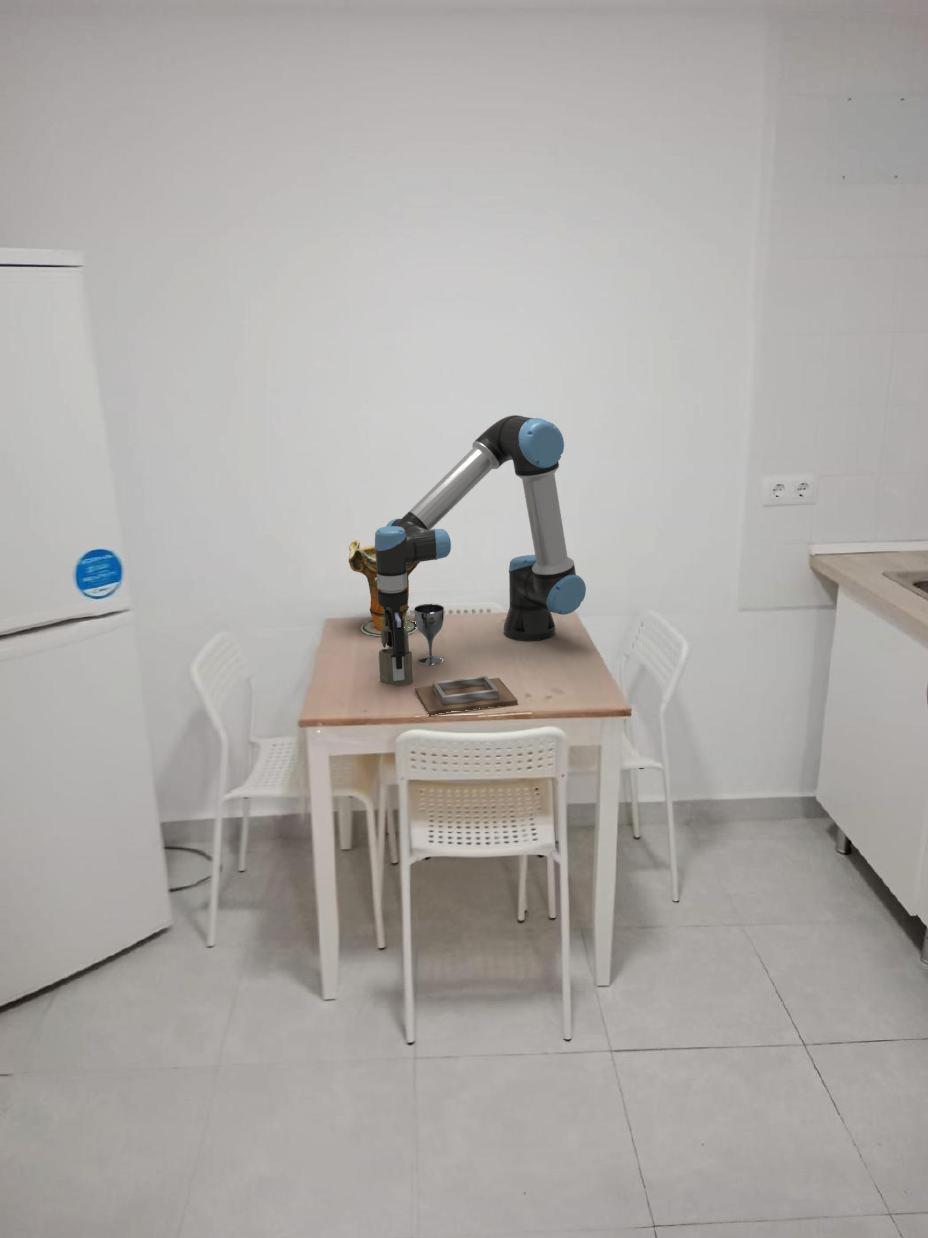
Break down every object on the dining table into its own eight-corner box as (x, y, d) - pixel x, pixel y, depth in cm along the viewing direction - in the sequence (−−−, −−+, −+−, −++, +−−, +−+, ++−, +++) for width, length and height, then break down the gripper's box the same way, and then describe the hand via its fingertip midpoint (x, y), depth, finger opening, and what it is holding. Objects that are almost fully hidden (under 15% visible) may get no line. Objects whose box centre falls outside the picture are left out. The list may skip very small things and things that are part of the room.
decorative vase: (339, 622, 288) (339, 532, 280) (410, 615, 297) (411, 528, 289) (360, 643, 270) (360, 548, 262) (435, 635, 279) (437, 542, 271)
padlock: (385, 677, 246) (382, 622, 241) (414, 680, 243) (411, 625, 239) (379, 682, 242) (376, 627, 238) (408, 686, 240) (405, 630, 235)
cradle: (498, 682, 241) (498, 670, 240) (517, 704, 228) (517, 692, 227) (415, 692, 236) (414, 680, 235) (429, 716, 222) (428, 703, 221)
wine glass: (441, 666, 252) (440, 613, 248) (413, 665, 254) (411, 612, 249) (448, 656, 260) (446, 604, 255) (420, 654, 261) (418, 603, 257)
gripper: (370, 580, 243) (375, 664, 250) (384, 601, 225) (389, 690, 233) (399, 577, 244) (402, 660, 252) (415, 598, 227) (418, 686, 235)
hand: (396, 674), depth 242 cm, fingers closed on padlock, 6 cm apart
